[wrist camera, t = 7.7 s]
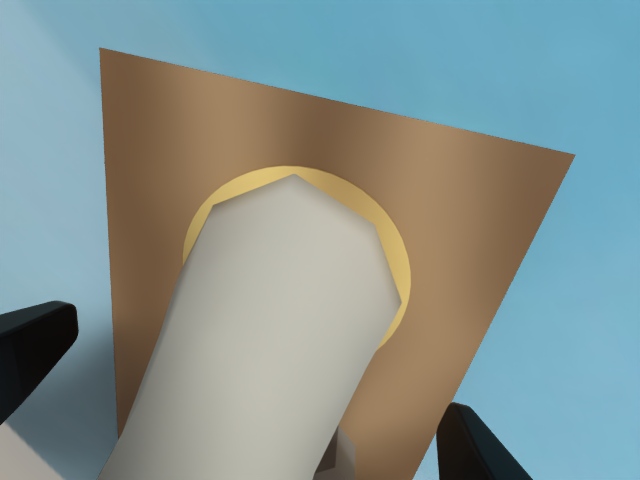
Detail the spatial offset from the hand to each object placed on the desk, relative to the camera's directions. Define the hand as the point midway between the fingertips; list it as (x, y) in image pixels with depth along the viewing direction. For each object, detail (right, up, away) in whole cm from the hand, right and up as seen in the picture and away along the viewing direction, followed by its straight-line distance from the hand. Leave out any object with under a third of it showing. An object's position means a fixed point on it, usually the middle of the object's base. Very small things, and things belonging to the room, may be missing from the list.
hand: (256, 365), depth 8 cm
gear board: (0, -2, +7) cm, 7 cm away
